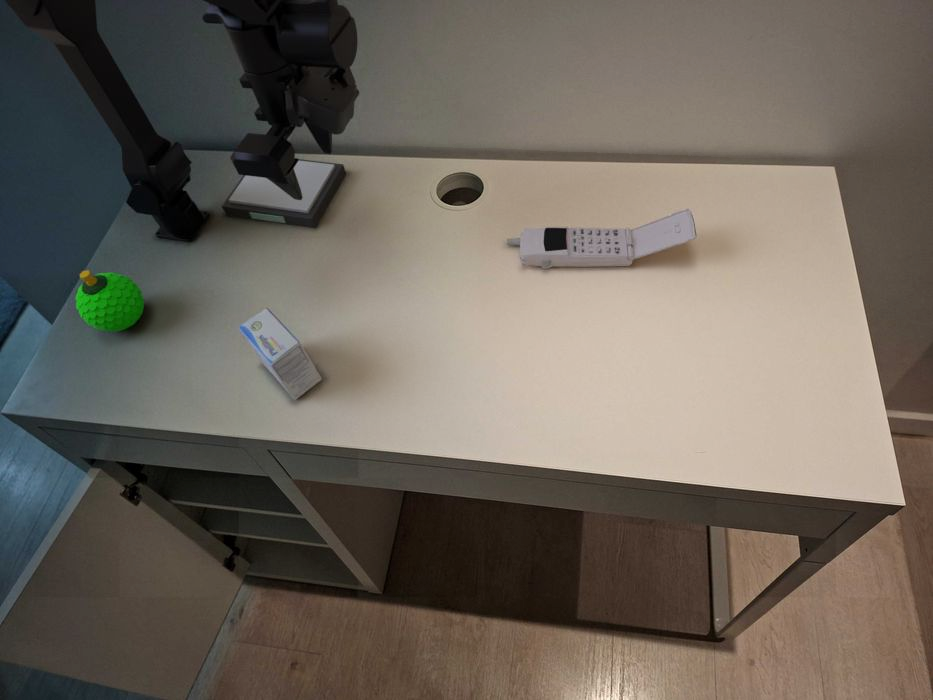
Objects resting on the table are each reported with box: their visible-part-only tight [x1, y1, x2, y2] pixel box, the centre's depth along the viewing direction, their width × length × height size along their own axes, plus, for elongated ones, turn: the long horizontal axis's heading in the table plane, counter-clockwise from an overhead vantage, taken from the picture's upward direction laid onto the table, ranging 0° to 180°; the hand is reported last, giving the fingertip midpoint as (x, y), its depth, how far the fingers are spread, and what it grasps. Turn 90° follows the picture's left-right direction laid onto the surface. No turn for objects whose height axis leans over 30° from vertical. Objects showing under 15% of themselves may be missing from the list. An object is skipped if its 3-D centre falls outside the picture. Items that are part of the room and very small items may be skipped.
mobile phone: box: [506, 208, 697, 269], centre depth 82 cm, size 6×6×25 cm
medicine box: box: [238, 307, 322, 401], centre depth 74 cm, size 8×4×9 cm, turn 42°
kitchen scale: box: [221, 158, 347, 229], centre depth 97 cm, size 16×13×3 cm
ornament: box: [75, 269, 145, 333], centre depth 82 cm, size 8×8×10 cm
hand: (313, 175), depth 77 cm, fingers open, 9 cm apart
